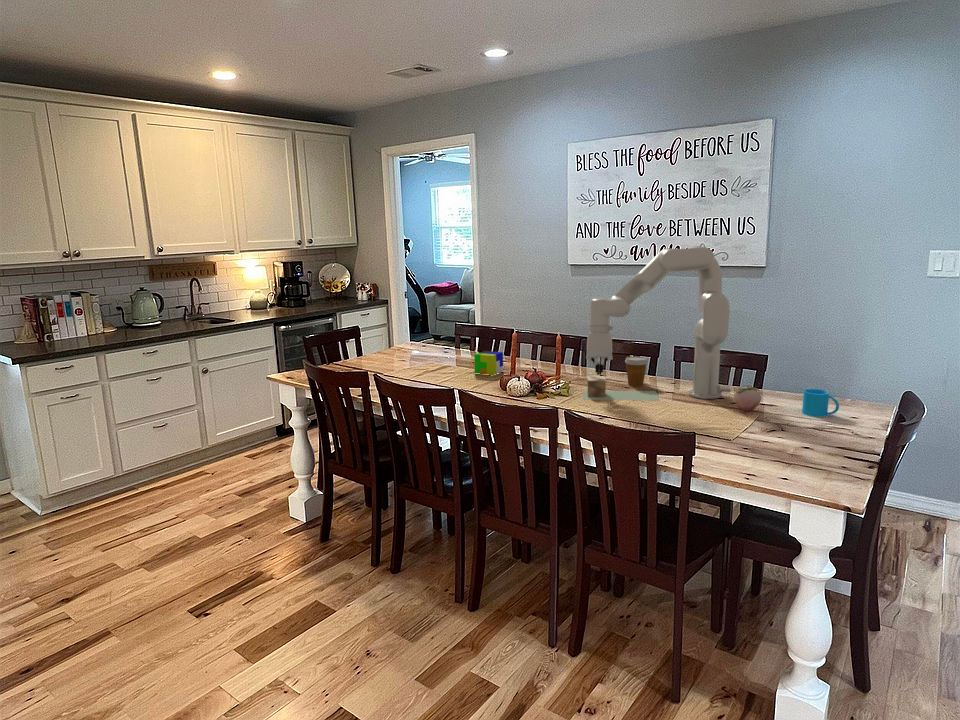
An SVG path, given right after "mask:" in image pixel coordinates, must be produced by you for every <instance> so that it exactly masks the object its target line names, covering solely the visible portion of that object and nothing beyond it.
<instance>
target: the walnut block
mask: <svg viewBox="0 0 960 720" xmlns="http://www.w3.org/2000/svg"><path fill="white" fill-rule="evenodd" d="M606 380H607V379H606V376H601V375H600V376H597V375H595V376H592V375H590V376H589V375H587V390H588V391H587V393H588V397H605V392H606V391H607V390H606V388H607V387H606V382H607V381H606Z"/></svg>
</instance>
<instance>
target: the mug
mask: <svg viewBox="0 0 960 720" xmlns="http://www.w3.org/2000/svg"><path fill="white" fill-rule="evenodd" d="M802 396H803V397H802V406H801V407H802V408H801V413H802V414H803V415H804V416H810V417H817V418H818V417H819V418H822V417H826V416H829V415H830V416H831V415H833V414H836V413H837V412H838V411H839V409H840V403H839V402H838V400H837V399H836V398H835V397H833V396H831V395H830V392H829V391H827V390H824V389H818V388H817V389H816V388H808V389H804V390H803V394H802ZM830 399H831V400H832V401H833V402H834V404H835V409H834V410H832V411H830V412H828V411H829V402H830V401H829V400H830Z"/></svg>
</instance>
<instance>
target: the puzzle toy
mask: <svg viewBox="0 0 960 720" xmlns="http://www.w3.org/2000/svg"><path fill="white" fill-rule="evenodd" d="M473 355H474V359H473V360H474V374H475V373H480V374H489V375H494V374H497V373H499V372H502V371H503V372H504V352H503V351H494V350H492V351H491V350H483V351H481V352H477V353H474V354H473Z"/></svg>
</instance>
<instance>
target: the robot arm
mask: <svg viewBox="0 0 960 720" xmlns="http://www.w3.org/2000/svg"><path fill="white" fill-rule="evenodd" d="M689 271H696V272H697V276H698V293H697V294H698V296H697V307H698V309H699V311H700V312H701V313H703V315H702V318H700V319H699V320H698V321H697V322H696V324H695V326H694V328H693V329H694V330H693V331H694V332H693V333H694V335H693V337H694V358H693V359H694V361H693V381H692V383H693V385H692V389H691V390H689V391H688V395H689V396H690V397H692V398H694V399H695V398H696V399H703V400H715V399H719V398H721V397H722V396H723V395H722V394H723V392H725V393H731V389H732V388H731V387H729V386H723V385H720V384H719V377H720V376H719V375H720V358H721V344H723V343H724V342H725V341H726V339H727V337H728V335H729V325H730V324H729V323H730V302H729V299H728V297H726V295H725V294H723V291H722V289H723V283H722V282H723V281H722V279H723V278H722V275H723V274H722V269H721V266H720V264H719V262H718V260H717V258H716V257H715V253H714V252H713V250H712V249H710V248H709V247H705V246H699V245H698V246H697V245H696V246H693V247H690V248H664V249H662V250H660V251H659V252H658V253H657V254H656V255H655V256H654V257H653V258H652V259H651V260H650V261H649V262H648V263H647V264H646V265H645V266H644V267H643V268H642V269H641V270H639V272H638V273H636V274H635V275H634V276H633V277H632V278H631V279H630V280H629V281H627V282H626V283H625V284H624V285H623V286H621V288H620V289H619V290H618V291H617V292H616V293H615V294H614V295H613V296H612V297H611V298H610V299H608V298H604V297H596V298H592V299H590V312H589V313H590V316H589V317H590V318H589V319H590V320H589V321H590V323H589V325H590V328H589V329H590V331H589V332H588V333H587V339H586V356H585V359H586V360H588V361H591V362H592V363H593V364H595V369H594V370H595V373H596V374H597V375H600V376H601V375H602V373H603V372H604V364H605V363H607V362H608V361H612V360H614V359H613V358H614V357H613V337H612V332H611V330H614V326H612V325H610V317H613V318H624V317H626V316H627V315H629V313H630V312H631V304H633V302H634V301H636V300H637V299H638V298H639V297H640V296H642V295H644V294H645V293H648V292H650V291H652V290H653V289H655V288H656V287H657V286H658V285H659V284H660V282H662V281H663V279H665V278H666V277H667V276H668V275H669V274H670V273H671V272H689ZM598 358H600V362H599V361H598ZM597 375H596V376H597Z"/></svg>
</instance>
